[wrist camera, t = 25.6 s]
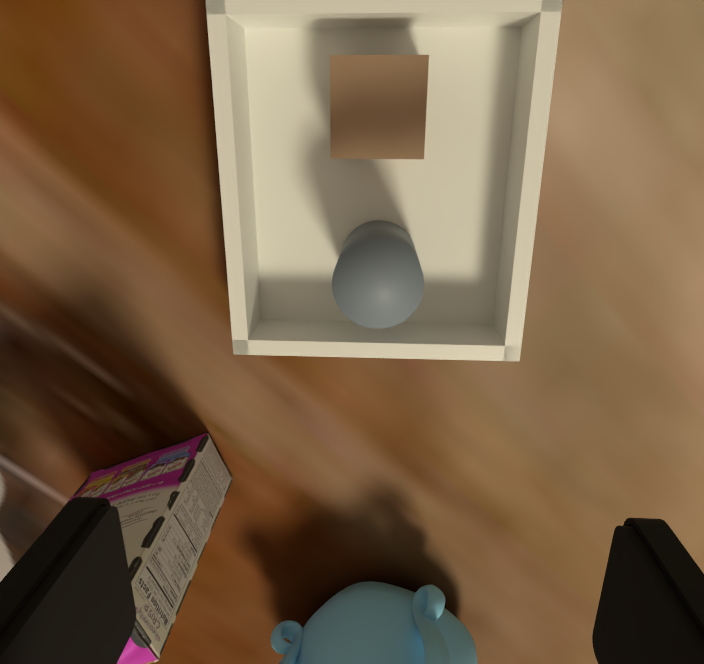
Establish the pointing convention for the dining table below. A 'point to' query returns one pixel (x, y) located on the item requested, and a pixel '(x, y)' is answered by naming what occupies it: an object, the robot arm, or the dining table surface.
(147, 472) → the candy bar box
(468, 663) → the decorative pot
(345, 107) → the walnut cube
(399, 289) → the slate capsule
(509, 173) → the tote
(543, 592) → the dining table surface
